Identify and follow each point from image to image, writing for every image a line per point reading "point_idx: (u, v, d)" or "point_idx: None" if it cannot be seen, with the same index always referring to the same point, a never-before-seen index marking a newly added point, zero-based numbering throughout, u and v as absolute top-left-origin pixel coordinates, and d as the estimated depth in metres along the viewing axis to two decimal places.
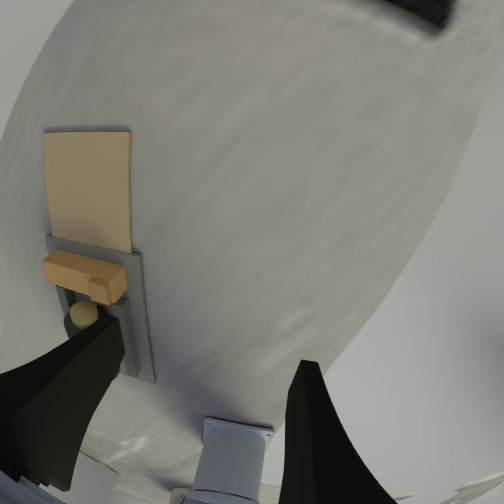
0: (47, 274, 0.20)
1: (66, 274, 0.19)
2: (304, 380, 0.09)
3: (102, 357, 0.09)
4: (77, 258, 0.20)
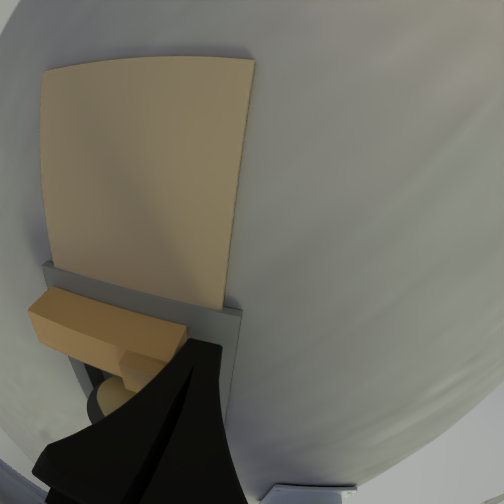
0: (38, 332, 0.10)
1: (72, 339, 0.10)
2: (197, 360, 0.09)
3: None
4: (90, 307, 0.11)
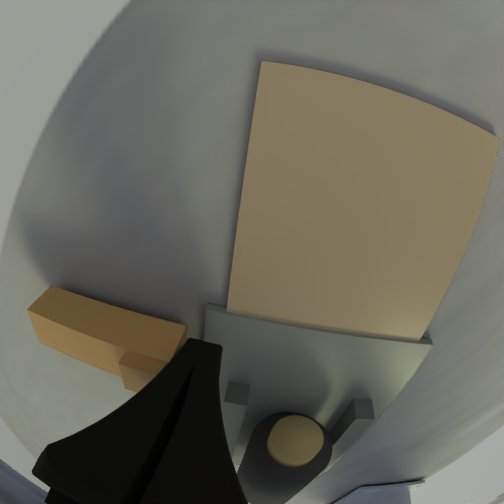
0: (38, 331, 0.10)
1: (72, 339, 0.10)
2: (197, 360, 0.09)
3: None
4: (90, 307, 0.11)
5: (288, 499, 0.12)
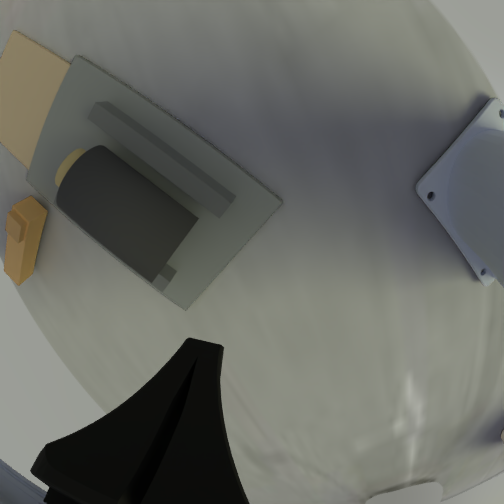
0: (12, 278, 0.18)
1: (10, 254, 0.17)
2: (198, 360, 0.09)
3: None
4: None
5: (147, 229, 0.12)
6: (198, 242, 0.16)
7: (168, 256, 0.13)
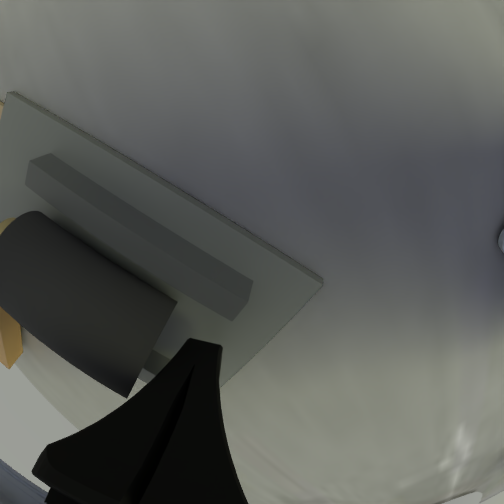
0: (1, 361, 0.14)
1: None
2: (197, 360, 0.09)
3: None
4: None
5: (98, 340, 0.07)
6: (207, 338, 0.12)
7: (135, 376, 0.08)
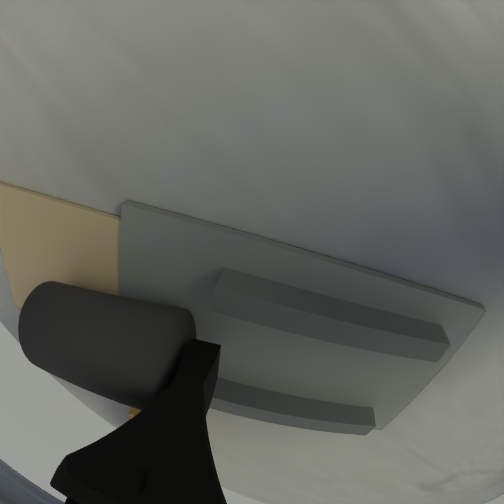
0: None
1: None
2: (183, 356, 0.09)
3: (208, 389, 0.09)
4: None
5: (113, 353, 0.08)
6: (399, 379, 0.12)
7: (152, 378, 0.08)
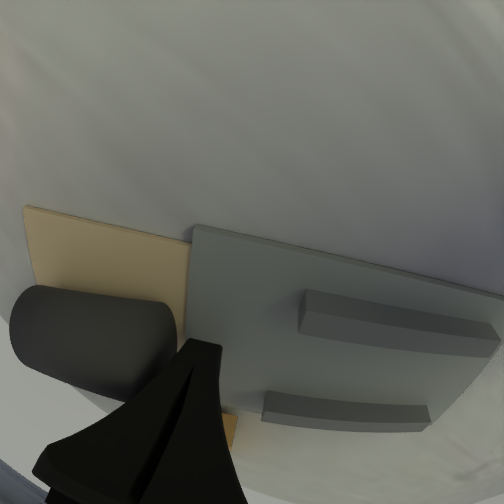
0: None
1: None
2: (197, 360, 0.09)
3: None
4: None
5: (93, 344, 0.08)
6: (452, 376, 0.11)
7: (129, 365, 0.08)
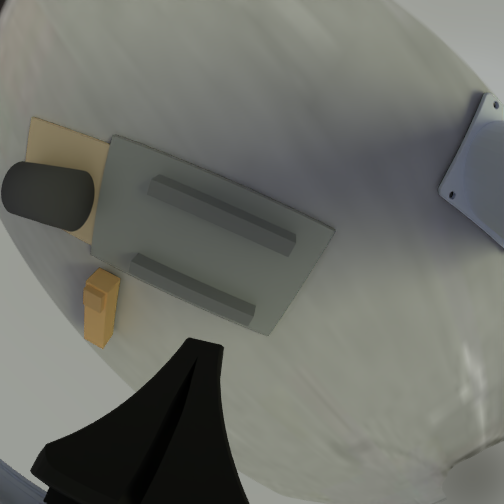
0: (95, 343, 0.22)
1: (90, 323, 0.21)
2: (198, 360, 0.09)
3: None
4: None
5: (48, 182, 0.15)
6: (271, 278, 0.19)
7: (61, 191, 0.15)
